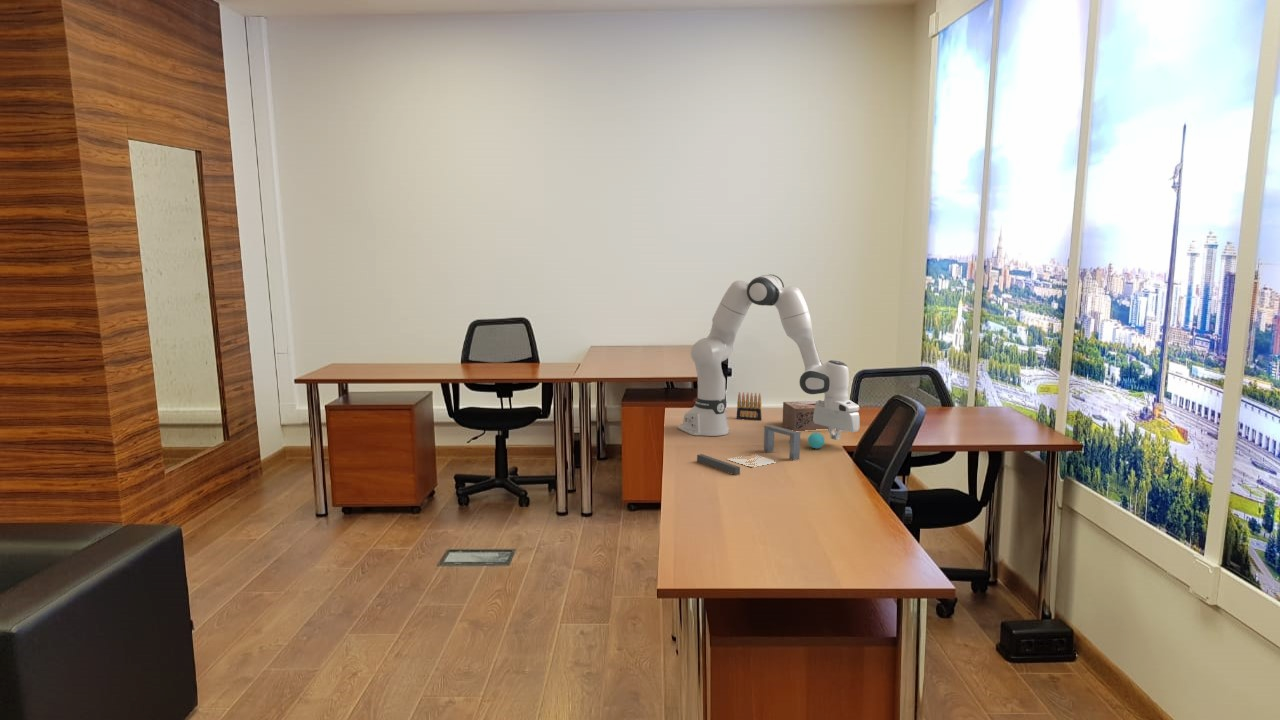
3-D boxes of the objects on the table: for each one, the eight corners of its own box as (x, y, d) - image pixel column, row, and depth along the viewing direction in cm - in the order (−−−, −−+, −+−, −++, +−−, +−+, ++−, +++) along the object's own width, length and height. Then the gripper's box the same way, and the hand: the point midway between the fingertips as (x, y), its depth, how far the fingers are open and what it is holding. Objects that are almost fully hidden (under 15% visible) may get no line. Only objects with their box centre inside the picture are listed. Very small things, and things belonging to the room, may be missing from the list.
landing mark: (726, 459, 289) (726, 459, 289) (753, 454, 296) (753, 453, 296) (751, 468, 278) (751, 467, 278) (779, 462, 286) (779, 461, 286)
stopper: (697, 461, 286) (697, 454, 285) (701, 461, 287) (701, 454, 286) (735, 475, 269) (735, 467, 269) (739, 474, 271) (739, 466, 270)
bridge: (793, 460, 288) (794, 433, 287) (763, 451, 300) (764, 425, 299) (799, 459, 290) (800, 432, 289) (769, 450, 302) (770, 424, 301)
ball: (804, 448, 306) (804, 432, 305) (815, 445, 310) (816, 430, 309) (816, 451, 301) (816, 435, 300) (827, 449, 305) (828, 433, 304)
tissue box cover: (840, 423, 351) (840, 400, 349) (854, 430, 337) (855, 406, 335) (782, 424, 347) (783, 401, 345) (794, 432, 333) (795, 408, 331)
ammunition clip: (761, 419, 355) (762, 392, 353) (761, 420, 353) (761, 393, 352) (737, 418, 358) (737, 391, 356) (736, 419, 356) (737, 392, 354)
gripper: (809, 400, 315) (808, 435, 317) (851, 408, 299) (850, 445, 301) (821, 398, 319) (820, 433, 321) (862, 406, 302) (861, 443, 304)
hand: (835, 439), depth 311 cm, fingers closed
